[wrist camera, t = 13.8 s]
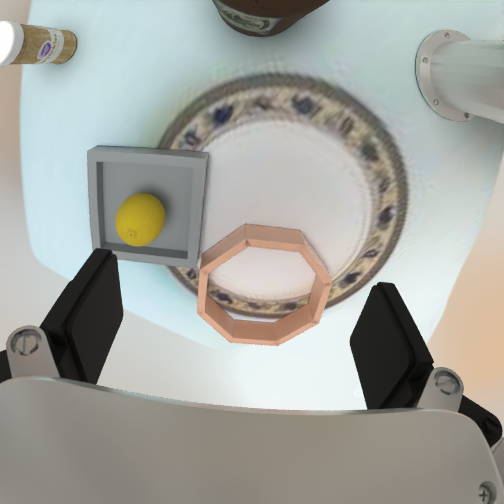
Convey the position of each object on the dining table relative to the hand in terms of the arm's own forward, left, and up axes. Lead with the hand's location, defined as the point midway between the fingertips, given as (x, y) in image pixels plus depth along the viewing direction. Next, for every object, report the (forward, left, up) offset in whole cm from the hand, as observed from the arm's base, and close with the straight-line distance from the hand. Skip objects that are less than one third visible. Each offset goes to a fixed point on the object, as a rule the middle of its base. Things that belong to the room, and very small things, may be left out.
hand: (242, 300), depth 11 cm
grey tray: (+10, +9, -28) cm, 31 cm away
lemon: (+10, +9, -28) cm, 31 cm away
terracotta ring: (-6, +19, -28) cm, 34 cm away
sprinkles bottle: (+23, -11, -29) cm, 39 cm away
